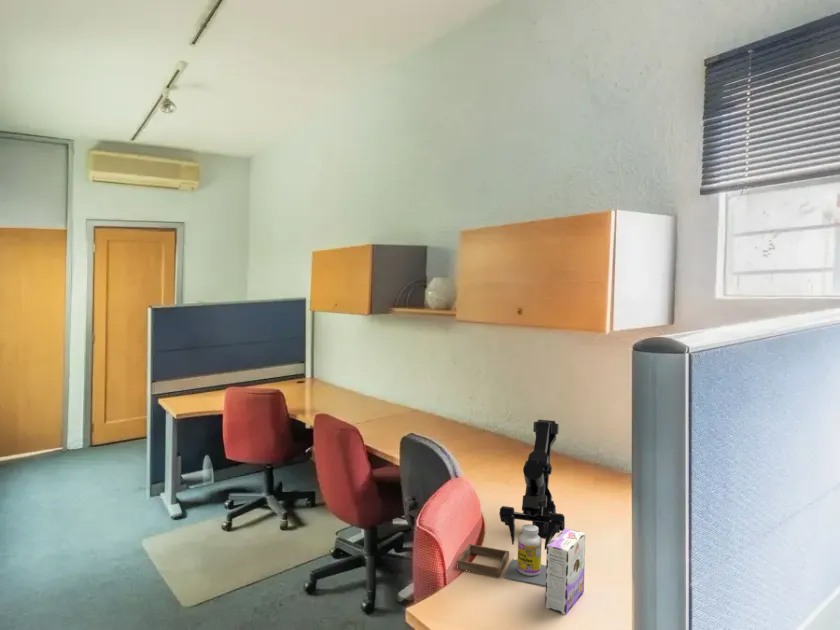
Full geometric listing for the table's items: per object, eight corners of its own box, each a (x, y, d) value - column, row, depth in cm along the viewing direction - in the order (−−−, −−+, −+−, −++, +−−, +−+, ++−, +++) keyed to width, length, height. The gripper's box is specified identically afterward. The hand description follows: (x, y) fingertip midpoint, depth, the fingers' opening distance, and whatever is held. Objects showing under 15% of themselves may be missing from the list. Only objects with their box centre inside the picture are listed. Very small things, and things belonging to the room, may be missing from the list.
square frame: (469, 551, 174) (469, 543, 174) (508, 559, 170) (509, 551, 170) (456, 569, 163) (456, 560, 163) (499, 577, 158) (499, 569, 158)
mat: (512, 560, 169) (512, 559, 169) (552, 568, 165) (552, 566, 165) (503, 578, 158) (503, 576, 158) (546, 587, 153) (546, 585, 153)
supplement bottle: (512, 571, 161) (513, 526, 161) (525, 564, 166) (526, 521, 166) (532, 579, 157) (533, 533, 156) (545, 571, 161) (546, 527, 161)
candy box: (563, 586, 154) (565, 527, 154) (584, 593, 151) (586, 532, 150) (544, 607, 143) (545, 544, 142) (566, 615, 139) (568, 550, 139)
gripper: (501, 479, 167) (493, 529, 157) (565, 487, 162) (561, 539, 151) (505, 496, 175) (497, 546, 165) (566, 504, 169) (562, 556, 159)
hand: (528, 546), depth 160 cm, fingers open, 9 cm apart
